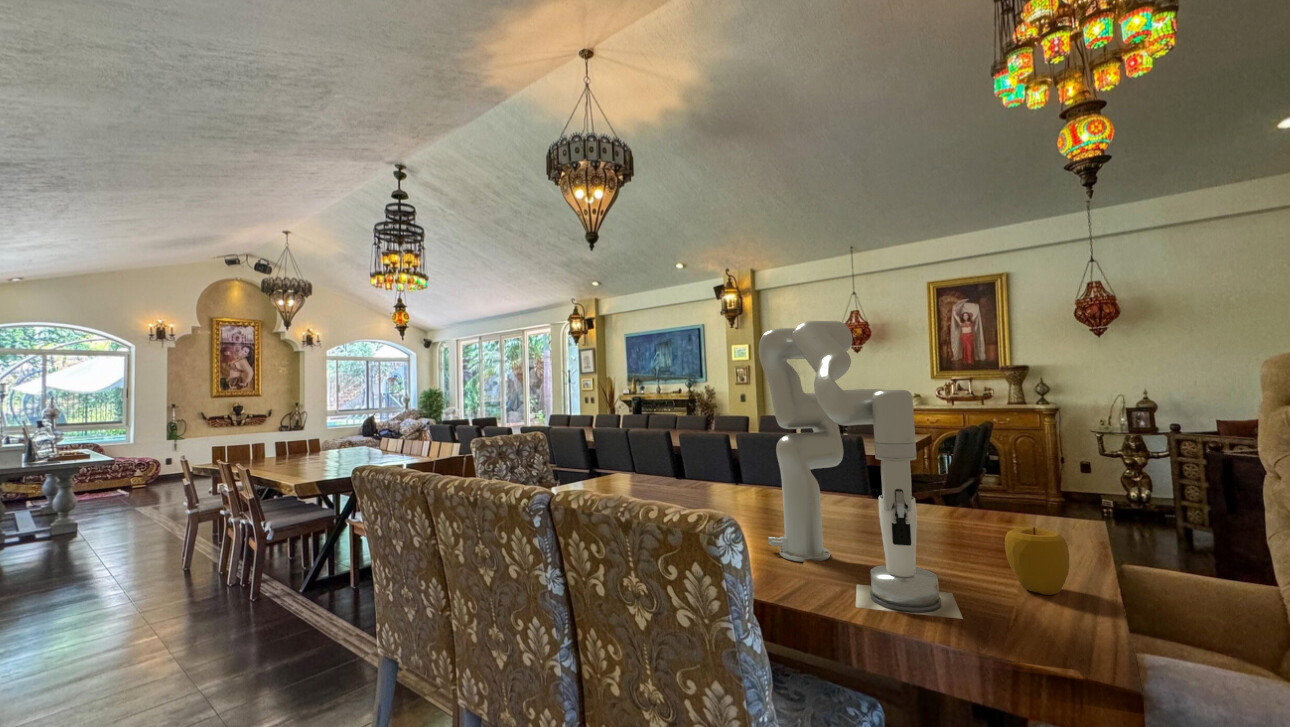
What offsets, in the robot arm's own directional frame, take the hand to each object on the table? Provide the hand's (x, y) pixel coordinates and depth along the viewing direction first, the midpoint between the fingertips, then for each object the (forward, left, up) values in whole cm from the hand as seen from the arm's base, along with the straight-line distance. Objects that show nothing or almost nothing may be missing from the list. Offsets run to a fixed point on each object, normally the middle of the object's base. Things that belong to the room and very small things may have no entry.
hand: (900, 537), depth 107 cm
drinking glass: (0, 0, -7) cm, 7 cm away
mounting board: (0, 0, -13) cm, 13 cm away
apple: (+26, +16, -13) cm, 33 cm away
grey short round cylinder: (0, 0, -12) cm, 12 cm away
